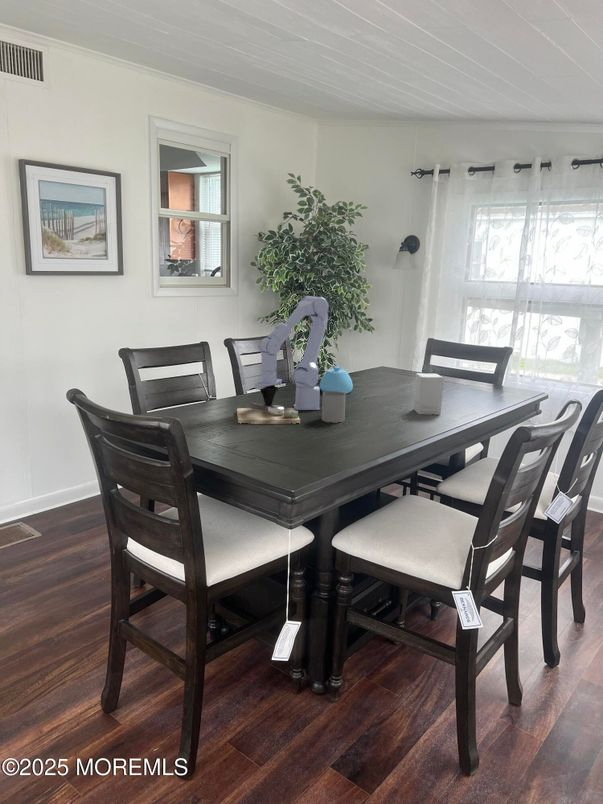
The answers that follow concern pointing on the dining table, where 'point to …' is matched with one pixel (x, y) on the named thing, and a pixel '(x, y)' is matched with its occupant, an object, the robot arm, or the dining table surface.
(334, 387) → the sugar bowl
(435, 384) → the supplement box
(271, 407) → the grey spoon
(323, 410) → the cup
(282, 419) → the oak board
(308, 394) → the robot arm
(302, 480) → the dining table surface
